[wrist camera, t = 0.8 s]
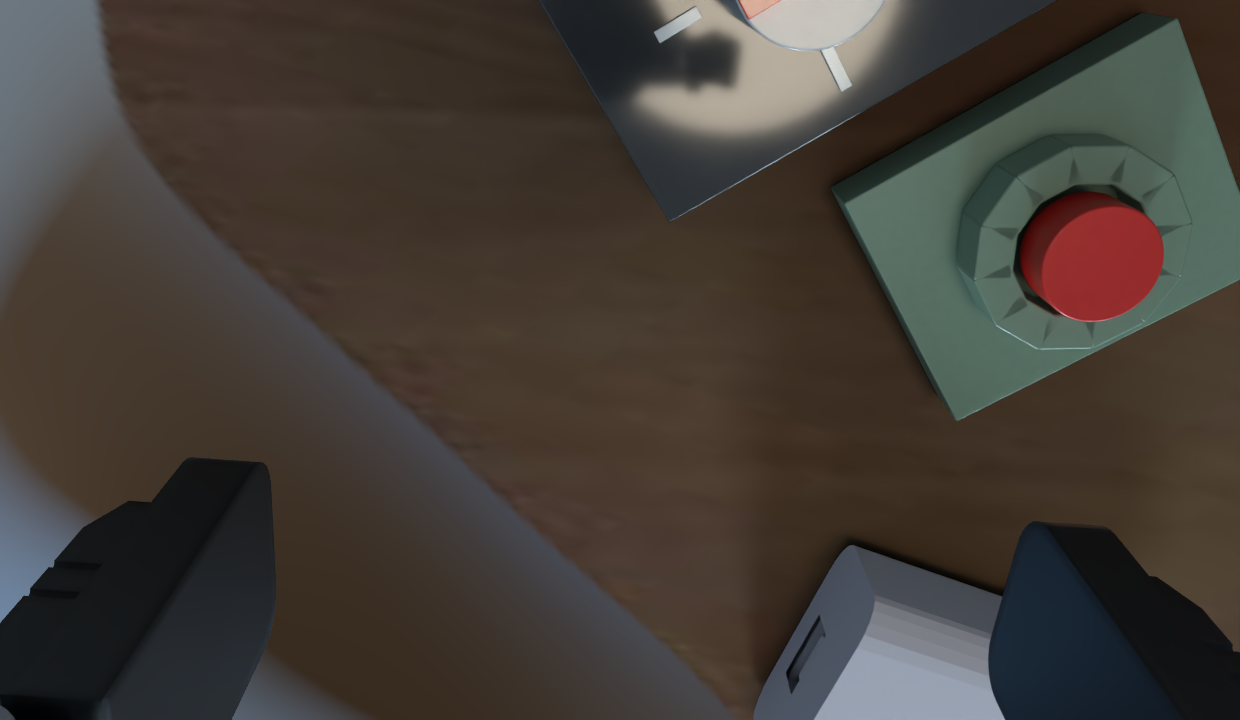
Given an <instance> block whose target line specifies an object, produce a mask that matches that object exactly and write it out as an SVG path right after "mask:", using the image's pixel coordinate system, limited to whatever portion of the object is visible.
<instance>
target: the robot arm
mask: <svg viewBox="0 0 1240 720" xmlns="http://www.w3.org/2000/svg"><path fill="white" fill-rule="evenodd" d="M275 602H276V573H275V553H274V533H273V514H272V494H271V480H270V475H269V471H268V468H267V466H266V465H265V464H264V463H262V462H250V461H238V460H224V459H211V458H195V457H190V458H187V459H186V460H185V461H184V462H183V463H182V464H181V465H180V467H179V468H178V469H177V470H176V472H175V473H174V474H173V475H172V477H171V478H170V479H169V480H168V482H167V483H166V484H165V485H164V487H163V488H162V489H161V490H160V492H159V493H158V494H157V496H156V497H155V498H154V499H153V501H152V502H137V501H128V502H126V503H124V504H122V505H121V506H119V507H118V508H116V509H114V510H113V511H111V512H109V513H107V514H106V515H104V516H102V517H100V518H99V519H97V520H95V521H93V522H92V523H90V524H88V525H87V526H85V527H83V528H82V530H81V531H80V532H79V533H78V534H77V535H76V536H75V538H74V539H73V540H72V541H71V542H70V543H69V545H68V546H67V547H66V548H65V549H64V550H63V551H62V553H61V554H60V555H59V556H58V557H57V558H56V559H55V563H54V567H53V568H50V567H49V568H48V569H47V570H46V571H45V572H44V573H43V574H42V576H41V577H40V578H39V579H38V580H37V581H36V582H35V584H34V585H33V586H32V587H31V588H30V594H29V596H23V597H22V599H21V600H20V601H19V602H18V603H17V604H16V606H15V607H14V608H13V609H12V610H11V611H10V612H9V614H8V615H7V616H6V617H5V618H4V619H3V620H2V622H1V623H0V720H232V717H233V715H234V713H235V711H236V709H237V707H238V705H239V703H240V700H241V698H242V696H243V694H244V692H245V690H246V688H247V686H248V684H249V682H250V680H251V677H252V675H253V673H254V671H255V669H256V667H257V665H258V663H259V661H260V658H261V656H262V654H263V652H264V650H265V648H266V645H267V642H268V639H269V636H270V632H271V628H272V624H273V618H274V612H275ZM1232 646H1233V644H1232V643H1231V642H1230V641H1229V640H1228V639H1227V637H1226V636H1225V635H1224V634H1223V633H1222V632H1221V630H1220V629H1219V628H1218V627H1217V626H1216V625H1215V623H1214V622H1213V621H1212V620H1211V619H1210V618H1209V616H1208V615H1207V614H1206V613H1205V612H1204V611H1203V609H1202V608H1200V607H1199V606H1197V605H1196V604H1194V603H1193V602H1192V601H1190V600H1189V599H1187V598H1186V597H1184V596H1183V595H1182V594H1180V593H1179V592H1177V591H1176V590H1175V589H1173V588H1172V587H1170V586H1169V585H1167V584H1166V583H1165V582H1163V581H1162V580H1160V579H1159V578H1157V577H1152V576H1149V575H1148V574H1147V573H1146V572H1145V571H1144V569H1143V568H1142V567H1141V566H1140V564H1139V563H1138V562H1137V561H1136V560H1135V558H1134V557H1133V556H1132V555H1131V553H1130V552H1129V551H1128V550H1127V549H1126V547H1125V546H1124V545H1123V544H1122V542H1121V541H1120V540H1119V539H1118V538H1117V536H1116V535H1115V534H1114V533H1113V532H1112V531H1111V530H1110V529H1108V528H1106V527H1103V526H1092V525H1079V524H1065V523H1052V522H1038V521H1036V522H1032V523H1030V524H1028V525H1027V526H1026V527H1025V529H1024V530H1023V532H1022V534H1021V536H1020V538H1019V541H1018V544H1017V548H1016V551H1015V555H1014V558H1013V562H1012V565H1011V569H1010V572H1009V575H1008V579H1007V582H1006V586H1005V589H1004V593H1003V596H1002V600H1001V603H1000V607H999V610H998V614H997V617H996V621H995V624H994V628H993V631H992V635H991V639H990V644H989V653H988V668H989V678H990V684H991V688H992V692H993V695H994V698H995V700H996V702H997V704H998V706H999V708H1000V710H1001V712H1002V714H1003V716H1004V718H1005V720H1240V653H1239V652H1233V649H1232Z"/></svg>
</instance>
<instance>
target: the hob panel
mask: <svg viewBox="0 0 1240 720" xmlns="http://www.w3.org/2000/svg"><path fill="white" fill-rule="evenodd" d="M1055 1H1057V0H885V2H884V4H883V5H882V7H881V9H880V10H879V12H878V13H877V14H876V16H875V17H874V18H873V20H872V21H871V22H870V23H869V24H868V25H867V26H866V27H865V28H864V29H863V30H861V31H860V32H859V33H858V34H857V35H855V36H854V37H852V38H851V39H849V40H847V41H845V42H843V43H841V44H839V45H837V46H834V47H831V48H828V49H823V50H819V51H796V50H791V49H787V48H784V47H781V46H778V45H776V44H774V43H772V42H770V41H768V40H767V39H765V38H764V37H762V36H761V35H759V34H758V33H757V32H755V31H754V30H752V29H751V28H749V27H748V26H746V25H745V24H744V23H742V22H741V21H739V20H738V19H737V18H736V17H735V16H734V15H733V14H732V13H731V12H730V11H729V10H728V8H727V7H726V6H725V4H724V3H723V1H722V0H539V2H540V4H541V5H542V7H543V9H544V11H545V12H546V14H547V16H548V17H549V19H550V21H551V22H552V24H553V26H554V27H555V29H556V31H557V33H558V34H559V36H560V38H561V39H562V41H563V43H564V44H565V46H566V48H567V50H568V51H569V53H570V55H571V56H572V58H573V60H574V61H575V63H576V65H577V67H578V68H579V70H580V72H581V73H582V75H583V77H584V78H585V80H586V82H587V84H588V85H589V87H590V89H591V90H592V92H593V94H594V95H595V97H596V99H597V101H598V102H599V104H600V106H601V107H602V109H603V111H604V112H605V114H606V116H607V118H608V119H609V121H610V123H611V124H612V126H613V128H614V129H615V131H616V133H617V135H618V136H619V138H620V140H621V141H622V143H623V145H624V146H625V148H626V150H627V152H628V153H629V155H630V157H631V158H632V160H633V162H634V163H635V165H636V167H637V168H638V170H639V172H640V174H641V175H642V177H643V179H644V180H645V182H646V184H647V185H648V187H649V189H650V191H651V192H652V194H653V196H654V197H655V199H656V201H657V202H658V204H659V206H660V208H661V209H662V211H663V213H664V214H665V216H666V218H667V219H668V221H669V222H671V221H673V220H675V219H676V218H678V217H680V216H682V215H683V214H685V213H687V212H689V211H690V210H692V209H694V208H696V207H697V206H699V205H701V204H703V203H704V202H706V201H708V200H710V199H711V198H713V197H715V196H717V195H718V194H720V193H722V192H724V191H725V190H727V189H729V188H731V187H732V186H734V185H736V184H738V183H739V182H741V181H743V180H745V179H746V178H748V177H750V176H751V175H753V174H755V173H757V172H758V171H760V170H762V169H764V168H765V167H767V166H769V165H771V164H772V163H774V162H776V161H778V160H779V159H781V158H783V157H785V156H786V155H788V154H790V153H792V152H793V151H795V150H797V149H799V148H800V147H802V146H804V145H806V144H807V143H809V142H811V141H813V140H814V139H816V138H818V137H820V136H821V135H823V134H825V133H826V132H828V131H830V130H832V129H833V128H835V127H837V126H839V125H840V124H842V123H844V122H846V121H847V120H849V119H851V118H853V117H854V116H856V115H858V114H860V113H861V112H863V111H865V110H867V109H868V108H870V107H872V106H874V105H875V104H877V103H879V102H881V101H882V100H884V99H886V98H888V97H889V96H891V95H893V94H895V93H896V92H898V91H900V90H902V89H903V88H905V87H907V86H908V85H910V84H912V83H914V82H915V81H917V80H919V79H921V78H922V77H924V76H926V75H928V74H929V73H931V72H933V71H935V70H936V69H938V68H940V67H942V66H943V65H945V64H947V63H949V62H950V61H952V60H954V59H956V58H957V57H959V56H961V55H963V54H964V53H966V52H968V51H970V50H971V49H973V48H975V47H977V46H978V45H980V44H982V43H983V42H985V41H987V40H989V39H990V38H992V37H994V36H996V35H997V34H999V33H1001V32H1003V31H1004V30H1006V29H1008V28H1010V27H1011V26H1013V25H1015V24H1017V23H1018V22H1020V21H1022V20H1024V19H1025V18H1027V17H1029V16H1031V15H1032V14H1034V13H1036V12H1038V11H1039V10H1041V9H1043V8H1045V7H1046V6H1048V5H1050V4H1052V3H1053V2H1055Z"/></svg>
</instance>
